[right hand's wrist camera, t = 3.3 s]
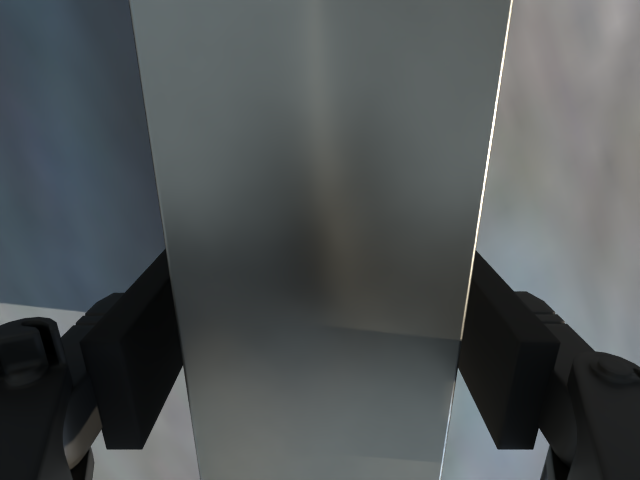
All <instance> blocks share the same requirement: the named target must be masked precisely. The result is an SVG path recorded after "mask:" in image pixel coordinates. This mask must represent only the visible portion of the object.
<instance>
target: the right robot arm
mask: <svg viewBox="0 0 640 480" xmlns="http://www.w3.org/2000/svg"><path fill="white" fill-rule="evenodd" d="M564 322H565V321H564V320H563V319H562V318H561V317H559V316H558V315H557V314H555V312H554V311H553V310H552V309H551V308H550V307H549V306H548V305H547V304H546V303H545V302H544V301H543V300H541V299H539V298H537V297H535V296H534V295H532V294H530V293H528V292H514V291H513V290H512V289H511V288H510V287H509V286H508V285H507V284H506V282H505V281H504V280H503V279H502V278H501V277H500V276H499V275H498V274H497V273H496V272H495V271H494V269H493V268H492V267H491V266H490V265H489V264H488V263H487V262H486V261H485V260H484V259H483V258H482V256H481V255H480V254H479V253H478V252H477V251H475V258H474V264H473V271H472V278H471V284H470V291H469V297H468V304H467V311H466V317H465V324H464V331H463V337H462V344H461V350H460V357H459V364H458V368H459V370H460V372H461V374H462V377H463V379H464V381H465V383H466V385H467V387H468V389H469V391H470V393H471V395H472V397H473V399H474V401H475V403H476V405H477V408H478V410H479V412H480V414H481V416H482V418H483V420H484V422H485V424H486V426H487V428H488V430H489V432H490V434H491V436H492V439H493V441H494V443H495V445H496V447H497V449H533V448H534V445H535V441H536V437H537V433H538V429H540V430H541V432H542V433H543V435H544V436H545V438H546V440H547V441H548V443H549V444H550V446H549V449H548V453H547V457H546V460H545V464H544V467H543V471H542V475H541V478H540V480H640V367H639V366H637V365H636V364H634V363H632V362H630V361H628V360H626V359H623V358H621V357H618V356H615V355H611V354H608V353H604V352H595V351H594V350H593V349H592V348H591V347H590V346H589V345H588V344H587V343H586V342H585V341H584V340H583V339H582V338H581V337H580V336H579V335H578V334H577V333H576V332H575V331H574V330H573V329H572V328H571V327H570V326H569V325H568V324H565V323H564ZM182 366H183V360H182V353H181V347H180V340H179V333H178V327H177V320H176V313H175V307H174V300H173V293H172V287H171V280H170V273H169V267H168V260H167V253H166V249H165V250H164V251H163V252H162V253H161V254H160V255H159V256H158V258H157V259H156V260H155V261H154V262H153V263H152V264H151V265H150V266H149V267H148V268H147V269H146V271H145V272H144V273H143V274H142V275H141V276H140V277H139V278H138V279H137V280H136V281H135V282H134V283H133V285H132V286H131V287H130V288H129V289H128V290H127V291H126V292H125V293H113V294H111V295H109V296H107V297H105V298H104V299H102V300H100V301H98V302H97V303H96V304H95V305H93V306H92V307H91V308H90V309H89V310H88V311H87V312H86V313H85V316H82V317H81V318H80V319H79V320H78V321H77V322H76V325H73V326H72V327H71V328H70V329H69V330H68V331H67V332H66V333H65V334H64V335H63V336H62V337H60V333H59V330H58V326H57V322H55V321H53V320H52V319H50V318H43V317H33V318H24V319H20V320H16V321H12V322H8V323H5V324H3V325H0V480H92V478H93V470H94V458H93V453H92V449H91V445H92V443H93V442H94V440H95V439H96V437H97V435H98V434H99V432H100V431H101V429H102V433H103V437H104V441H105V445H106V448H107V449H143V447H144V445H145V443H146V441H147V439H148V436H149V434H150V432H151V430H152V428H153V426H154V424H155V422H156V420H157V418H158V416H159V414H160V412H161V410H162V408H163V405H164V403H165V401H166V399H167V397H168V395H169V393H170V391H171V389H172V387H173V385H174V383H175V381H176V379H177V377H178V374H179V372H180V370H181V368H182Z"/></svg>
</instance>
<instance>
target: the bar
mask: <svg viewBox="0 0 640 480" xmlns="http://www.w3.org/2000/svg"><path fill="white" fill-rule="evenodd" d="M129 6H130V13H131V20H132V26H133V33H134V40H135V46H136V53H137V60H138V66H139V73H140V80H141V86H142V93H143V100H144V106H145V113H146V120H147V127H148V133H149V140H150V147H151V153H152V160H153V167H154V173H155V180H156V187H157V193H158V200H159V207H160V213H161V220H162V227H163V233H164V240H165V247H166V253H167V260H168V267H169V273H170V280H171V287H172V293H173V300H174V307H175V313H176V320H177V327H178V333H179V340H180V347H181V353H182V360H183V367H184V374H185V380H186V387H187V394H188V400H189V407H190V414H191V420H192V427H193V434H194V440H195V447H196V454H197V460H198V467H199V474H200V480H441V476H442V469H443V463H444V456H445V449H446V443H447V436H448V430H449V423H450V416H451V410H452V403H453V397H454V390H455V383H456V377H457V370H458V364H459V357H460V350H461V344H462V337H463V331H464V324H465V317H466V311H467V304H468V297H469V291H470V284H471V278H472V271H473V264H474V258H475V251H476V245H477V238H478V231H479V225H480V218H481V212H482V205H483V198H484V192H485V185H486V179H487V172H488V165H489V159H490V152H491V146H492V139H493V132H494V126H495V119H496V113H497V106H498V99H499V93H500V86H501V80H502V73H503V66H504V60H505V53H506V46H507V40H508V33H509V27H510V20H511V13H512V7H513V0H129Z"/></svg>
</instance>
